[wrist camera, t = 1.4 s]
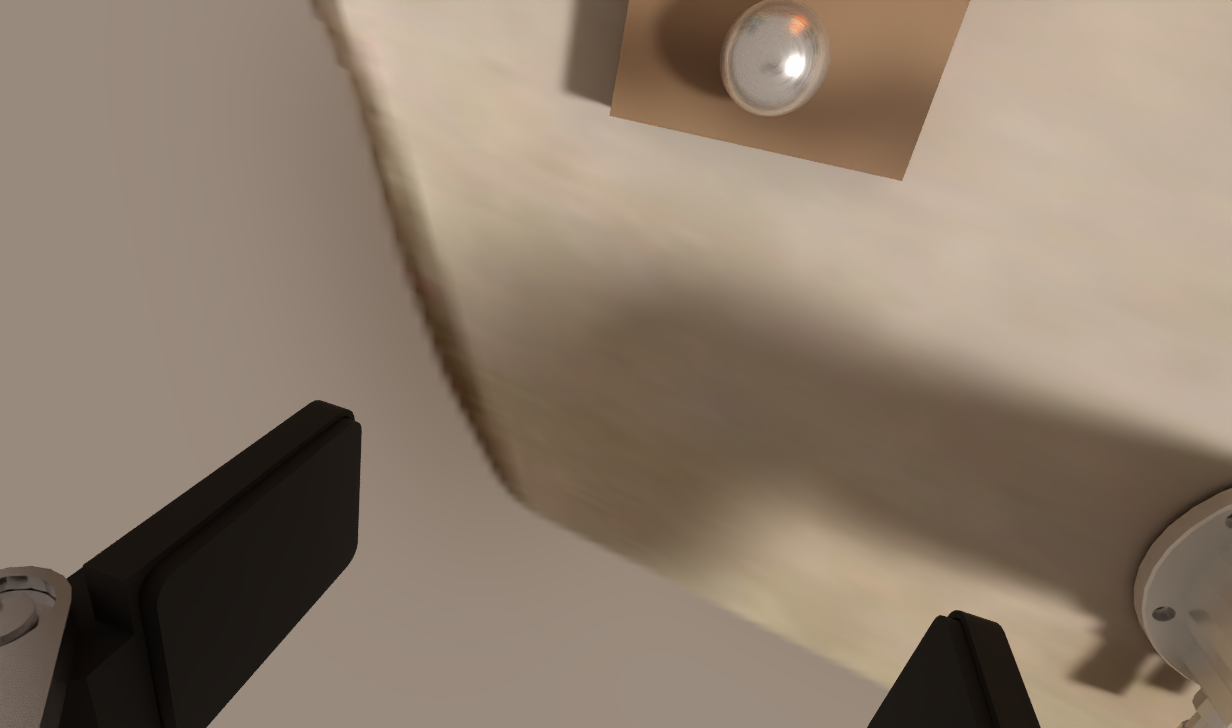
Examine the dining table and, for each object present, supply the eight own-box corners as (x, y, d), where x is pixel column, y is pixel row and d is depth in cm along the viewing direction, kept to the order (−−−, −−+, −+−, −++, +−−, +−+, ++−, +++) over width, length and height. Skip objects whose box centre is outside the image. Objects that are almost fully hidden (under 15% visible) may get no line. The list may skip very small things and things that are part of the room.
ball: (809, 122, 23) (812, 131, 20) (713, 101, 24) (702, 107, 21) (841, 12, 22) (850, 5, 19) (739, -8, 22) (731, -18, 19)
